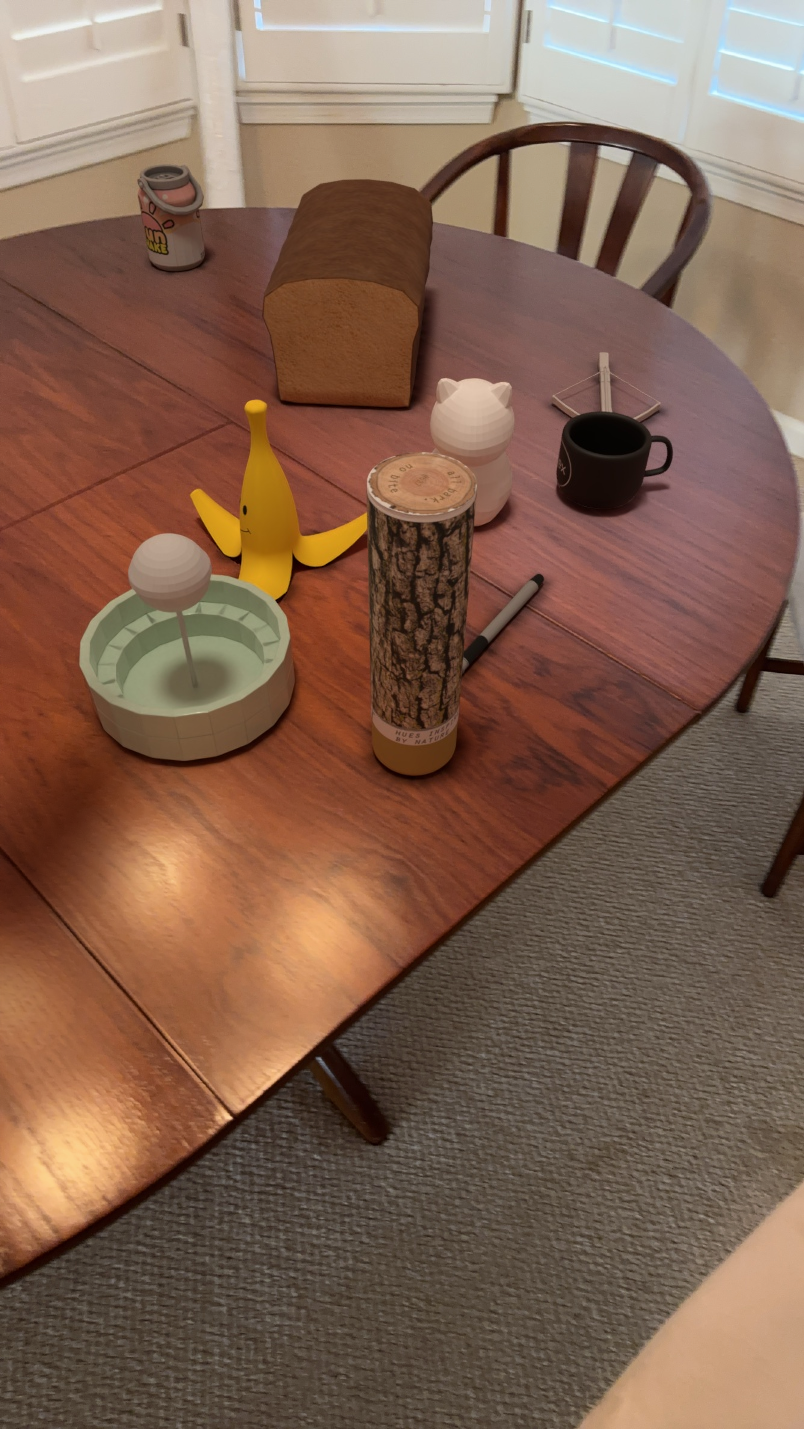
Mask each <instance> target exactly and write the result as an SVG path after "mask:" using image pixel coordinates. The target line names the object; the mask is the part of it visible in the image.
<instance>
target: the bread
mask: <svg viewBox="0 0 804 1429" xmlns="http://www.w3.org/2000/svg"><path fill="white" fill-rule="evenodd" d="M433 226H434V217H433V206H432V202H431V201H430V200H429V199H428V198H427V197H425V195H423V194H422V193H421V192H420V191H419V190H417V189H416V188H415V187H412V186H409V185H404V184H402V183H397V182H395V181H394V182H393V181H388V180H380V179H379V180H378V179H370V178H363V179H362V178H361V179H360V178H359V179H357V178H356V179H353V178H352V179H340V180H339V179H338V180H333V181H327V182H321V183H318V184H317V185H316V186H314V187H313V188H311V189H309V190H308V191H306V192H305V193H303V194H302V196H301V198H300V201H299V204H298V206H297V208H296V211H295V213H294V215H293V219H292V221H291V225H290V227H289V229H288V232H287V235H286V238H285V240H284V242H283V244H282V245H281V249H280V250H279V256H278V258H277V261H276V264H275V266H274V268H273V270H272V272H271V274H270V277H269V281H268V284H267V286H266V288H265V290H264V293H263V299H262V313H261V314H262V315H261V316H262V319H263V322H264V324H265V327H266V329H267V332H268V334H269V340H270V343H271V348H272V349H271V350H272V355H273V356H272V357H273V361H274V369H275V376H276V385H277V386H276V387H277V391H278V396H279V401H282V402H288V403H293V404H302V405H303V404H305V405H326V406H327V405H329V406H344V407H345V406H346V407H370V408H387V409H388V408H390V409H394V408H395V409H396V408H397V409H398V408H410V404H411V400H412V395H413V390H414V387H415V386H414V385H415V380H416V372H417V361H418V356H419V349H420V339H421V331H422V324H423V313H424V309H425V303H426V285H427V282H428V277H429V273H430V265H431V262H430V261H431V247H432V242H433V239H434V238H433Z"/></svg>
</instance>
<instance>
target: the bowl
mask: <svg viewBox="0 0 804 1429" xmlns="http://www.w3.org/2000/svg"><path fill="white" fill-rule="evenodd" d="M182 613H183V618H184V623H185V627H186V632H187V636H188V641H189V646H190V650H191V655H192V660H193V664H194V669H195V673H196V678H197V683H198V686H197V687H193V686H192V681H191V677H190V672H189V668H188V663H187V659H186V654H185V650H184V645H183V641H182V636H181V632H180V627H179V623H178V618H177V614H176V612H173V613H169V612H162V611H159V610H156V609H154V608H152V607H150V606H149V605H147V604H146V603H145V602H143V601H142V600H141V599H140V597H139V596H138V595H137V593H136V592H135V591H134V590H133V589H132V588H130V589H129V590H127V591H126V592H123V593H122V594H120V595H119V596H117V597H115V598H113V599H111V600H110V601H109V602H108V603H107V604H106V605H105V606H104V607H103V608H102V609H101V610H100V611H99V612H98V613H97V614H96V615H95V616H94V617H93V618H92V619H91V620H90V621H89V623H88V625H87V627H86V629H85V631H84V633H83V635H82V637H81V639H80V641H79V661H78V662H79V665H78V666H79V669H80V671H81V674H82V678H83V680H84V683H85V686H86V689H87V692H88V695H89V698H90V701H91V704H92V706H93V710H94V711H95V714H96V717H97V718H98V720H99V722H100V725H101V726H102V728H103V730H104V731H105V732H106V733H107V734H108V735H109V736H110V737H112V739H114V740H115V741H116V742H118V743H119V744H120V746H122V747H124V748H126V749H128V750H131V751H133V752H135V753H139V754H141V755H144V756H146V757H149V758H152V759H160V760H171V761H180V762H183V761H184V762H185V761H186V762H187V761H195V760H200V759H207V758H215V757H218V756H221V755H223V754H226V753H230V752H231V751H233V750H236V749H238V748H241V747H244V746H246V745H249V744H250V743H252V742H253V741H254V740H256V739H257V738H259V737H260V736H261V735H262V734H264V733H265V732H267V731H268V730H270V729H271V728H273V726H274V725H275V724H276V723H277V721H278V720H279V718H280V717H281V716H282V714H283V713H284V712H285V710H287V708H288V706H289V704H290V701H291V698H292V694H293V691H294V688H295V684H296V678H295V669H294V668H295V667H294V657H293V651H292V650H293V649H292V639H291V633H290V628H289V623H288V622H289V621H288V616H287V615H286V614H285V612H284V610H283V609H282V608H281V607H280V605H279V604H278V603H277V601H276V600H274V598H273V597H271V596H270V595H268V594H267V593H265V592H264V591H262V590H261V589H259V588H258V587H256V586H255V585H253V584H251V583H248V582H245V581H242V580H239V578H235V577H234V576H233V577H232V576H230V575H225V574H224V575H222V574H212V573H211V578H210V583H209V587H208V589H207V591H206V593H205V595H204V597H203V598H202V599H201V600H200V601H199V602H198V603H197V604H196V605H195V606H193V607H191V608H189V609H187V610H184V611H182Z"/></svg>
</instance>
